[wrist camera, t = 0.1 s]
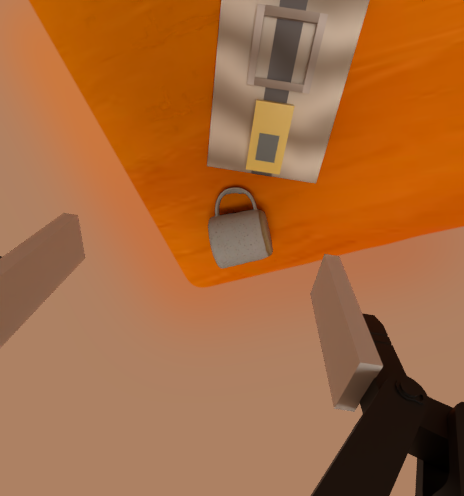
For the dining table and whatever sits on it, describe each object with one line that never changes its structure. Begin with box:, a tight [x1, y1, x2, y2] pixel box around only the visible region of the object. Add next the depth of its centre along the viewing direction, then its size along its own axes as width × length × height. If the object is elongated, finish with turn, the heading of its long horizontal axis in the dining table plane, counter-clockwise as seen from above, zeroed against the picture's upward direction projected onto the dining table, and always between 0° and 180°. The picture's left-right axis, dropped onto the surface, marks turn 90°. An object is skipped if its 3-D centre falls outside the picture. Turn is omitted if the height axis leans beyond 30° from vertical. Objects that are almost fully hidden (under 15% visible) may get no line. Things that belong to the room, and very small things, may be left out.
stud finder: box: [246, 99, 295, 175], centre depth 36 cm, size 8×4×2 cm, turn 173°
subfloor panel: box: [207, 0, 369, 183], centre depth 33 cm, size 28×15×3 cm, turn 173°
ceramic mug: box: [208, 187, 273, 268], centre depth 42 cm, size 11×8×8 cm
